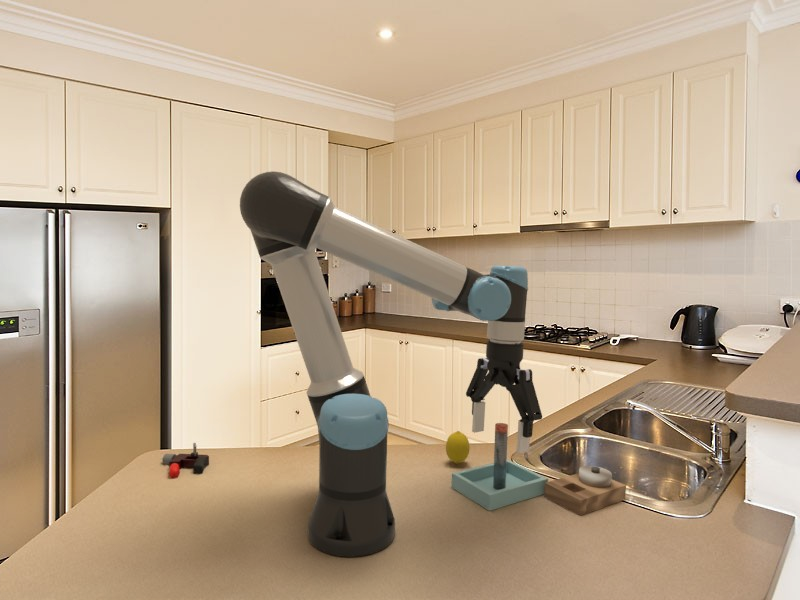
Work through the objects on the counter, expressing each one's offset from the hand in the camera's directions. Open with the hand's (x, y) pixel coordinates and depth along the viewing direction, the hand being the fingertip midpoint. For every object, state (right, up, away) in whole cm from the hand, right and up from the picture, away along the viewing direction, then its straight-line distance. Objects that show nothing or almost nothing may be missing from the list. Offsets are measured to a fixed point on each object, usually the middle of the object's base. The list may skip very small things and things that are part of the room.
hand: (499, 441), depth 112 cm
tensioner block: (+17, -11, -2) cm, 21 cm away
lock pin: (0, -10, +1) cm, 10 cm away
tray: (0, -11, +1) cm, 11 cm away
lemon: (-7, -10, +15) cm, 19 cm away
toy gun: (-70, -9, +7) cm, 71 cm away
